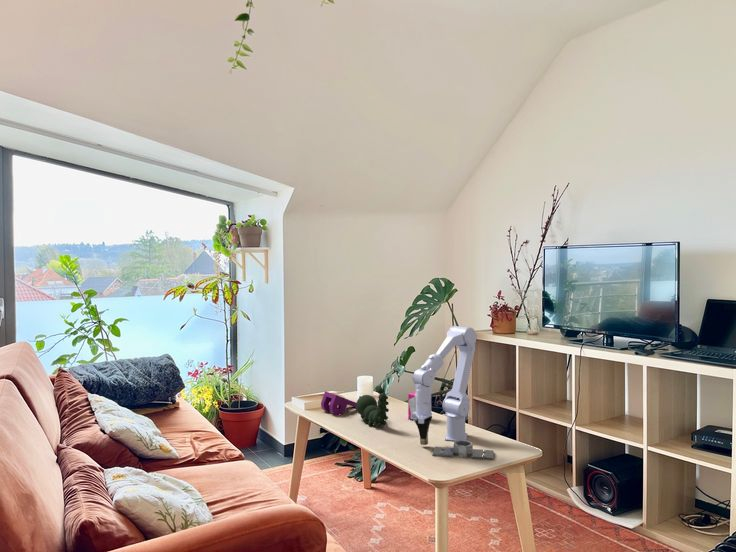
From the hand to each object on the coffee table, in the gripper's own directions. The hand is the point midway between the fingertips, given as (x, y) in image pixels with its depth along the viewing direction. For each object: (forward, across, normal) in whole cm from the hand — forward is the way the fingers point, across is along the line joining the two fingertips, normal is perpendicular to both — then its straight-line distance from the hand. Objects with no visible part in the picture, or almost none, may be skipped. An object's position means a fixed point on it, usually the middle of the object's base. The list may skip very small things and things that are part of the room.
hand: (424, 437), depth 214 cm
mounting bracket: (+4, -43, -44) cm, 62 cm away
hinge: (+4, +5, +15) cm, 16 cm away
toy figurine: (+4, -26, -26) cm, 38 cm away
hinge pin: (+2, 0, 0) cm, 2 cm away
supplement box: (+4, -36, -8) cm, 37 cm away
